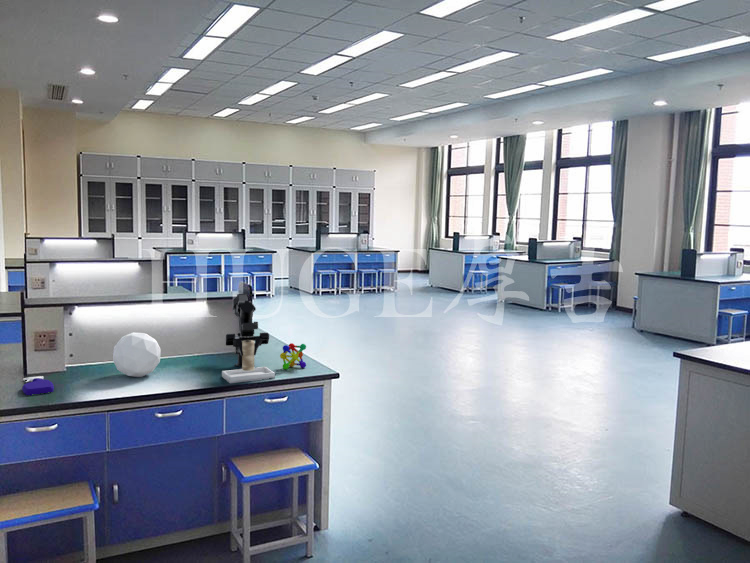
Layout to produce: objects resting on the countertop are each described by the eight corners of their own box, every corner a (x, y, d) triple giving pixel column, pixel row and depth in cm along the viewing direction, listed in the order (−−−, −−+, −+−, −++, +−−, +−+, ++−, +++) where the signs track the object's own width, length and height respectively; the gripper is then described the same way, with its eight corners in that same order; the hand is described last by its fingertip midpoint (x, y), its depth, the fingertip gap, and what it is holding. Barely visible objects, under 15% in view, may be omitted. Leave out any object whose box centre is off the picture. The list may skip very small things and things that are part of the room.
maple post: (240, 370, 267) (240, 341, 266) (244, 367, 272) (244, 339, 271) (251, 371, 267) (251, 342, 265) (256, 368, 272) (256, 340, 270)
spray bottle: (55, 386, 241) (48, 373, 261) (23, 390, 235) (19, 376, 255) (55, 393, 241) (49, 379, 261) (23, 397, 235) (19, 383, 255)
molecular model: (283, 370, 283) (284, 345, 282) (278, 367, 289) (279, 342, 288) (307, 368, 288) (307, 344, 287) (301, 365, 295) (302, 341, 293)
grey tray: (229, 383, 260) (229, 377, 260) (222, 376, 270) (222, 371, 270) (274, 378, 270) (274, 372, 269) (265, 371, 280) (265, 366, 280)
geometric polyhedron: (148, 392, 268) (161, 361, 258) (101, 378, 262) (112, 346, 252) (158, 362, 283) (171, 332, 273) (114, 348, 277) (125, 317, 267)
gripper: (225, 315, 268) (227, 346, 259) (268, 314, 273) (272, 344, 264) (224, 330, 276) (226, 359, 267) (266, 328, 282) (269, 358, 273)
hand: (248, 355), depth 268 cm, fingers closed on maple post, 5 cm apart
